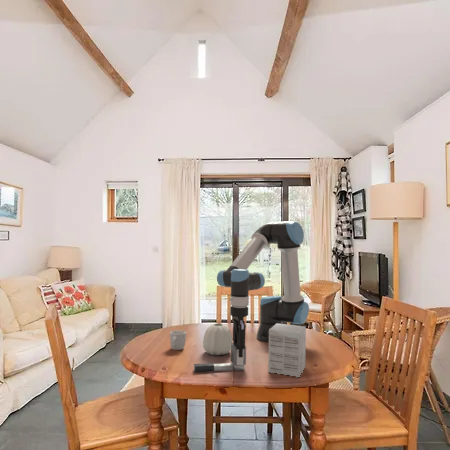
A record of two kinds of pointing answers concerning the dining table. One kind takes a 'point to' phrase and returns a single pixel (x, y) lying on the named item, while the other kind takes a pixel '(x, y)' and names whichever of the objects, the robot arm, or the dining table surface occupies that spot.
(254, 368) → the dining table surface
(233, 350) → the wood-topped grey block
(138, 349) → the dining table surface
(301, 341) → the supplement box
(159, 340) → the dining table surface
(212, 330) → the vase
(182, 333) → the cup
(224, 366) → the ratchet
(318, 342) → the dining table surface
